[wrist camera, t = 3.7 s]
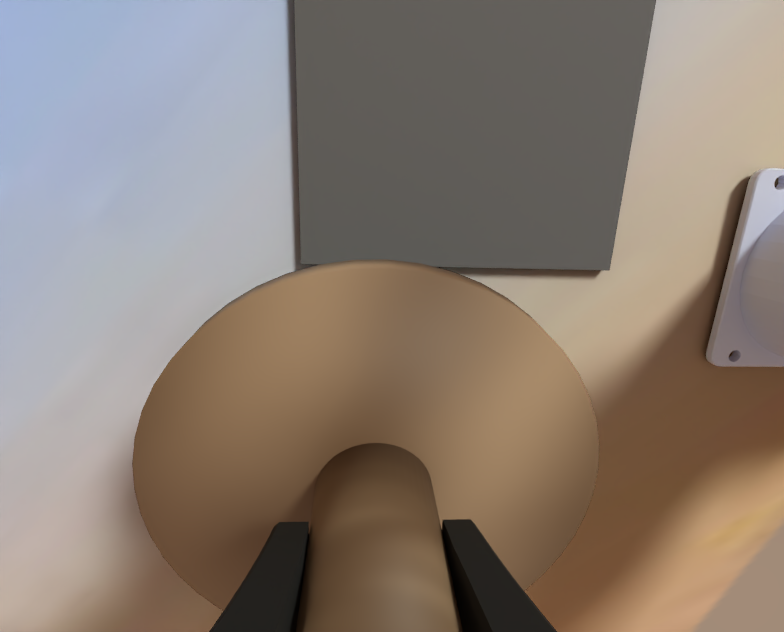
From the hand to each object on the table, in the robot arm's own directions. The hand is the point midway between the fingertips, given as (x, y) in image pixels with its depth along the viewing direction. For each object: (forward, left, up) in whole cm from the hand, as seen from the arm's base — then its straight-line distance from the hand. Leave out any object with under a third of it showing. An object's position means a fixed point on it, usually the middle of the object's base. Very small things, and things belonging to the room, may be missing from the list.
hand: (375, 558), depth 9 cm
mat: (-3, -11, -10) cm, 15 cm away
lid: (0, -1, -2) cm, 2 cm away
